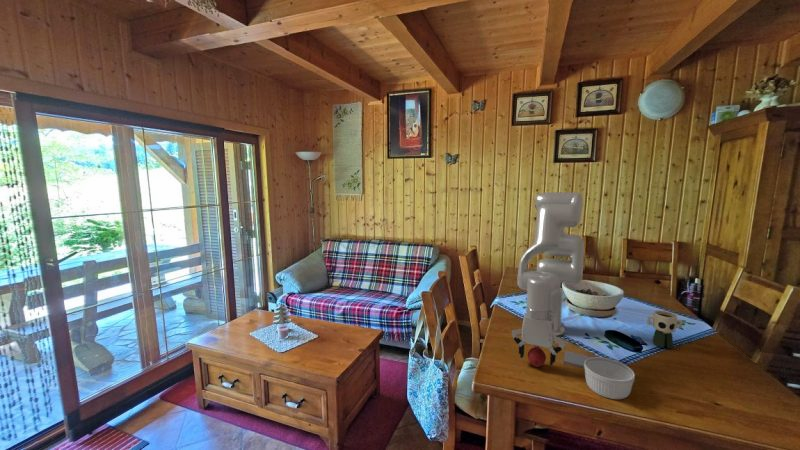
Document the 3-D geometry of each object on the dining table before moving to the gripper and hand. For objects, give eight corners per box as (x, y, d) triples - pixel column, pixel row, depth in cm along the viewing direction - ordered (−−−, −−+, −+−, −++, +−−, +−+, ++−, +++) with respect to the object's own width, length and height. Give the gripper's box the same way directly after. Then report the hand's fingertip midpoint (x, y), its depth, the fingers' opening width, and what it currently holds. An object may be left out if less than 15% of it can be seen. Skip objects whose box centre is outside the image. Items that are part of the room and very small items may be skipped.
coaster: (565, 352, 122) (565, 350, 122) (589, 358, 118) (590, 356, 118) (563, 363, 115) (563, 361, 115) (589, 369, 111) (589, 367, 111)
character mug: (648, 347, 125) (651, 315, 123) (642, 339, 131) (645, 308, 129) (683, 352, 120) (687, 319, 119) (676, 343, 127) (679, 312, 125)
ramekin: (628, 381, 104) (629, 361, 103) (638, 407, 92) (639, 385, 91) (581, 372, 110) (582, 353, 109) (585, 396, 98) (586, 374, 97)
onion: (547, 372, 110) (548, 350, 109) (529, 370, 111) (530, 348, 110) (543, 362, 116) (544, 341, 115) (526, 361, 117) (526, 340, 116)
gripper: (567, 313, 110) (565, 361, 112) (514, 304, 118) (513, 349, 121) (565, 322, 103) (563, 372, 105) (509, 311, 112) (508, 358, 114)
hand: (536, 359), depth 113 cm, fingers open, 9 cm apart
